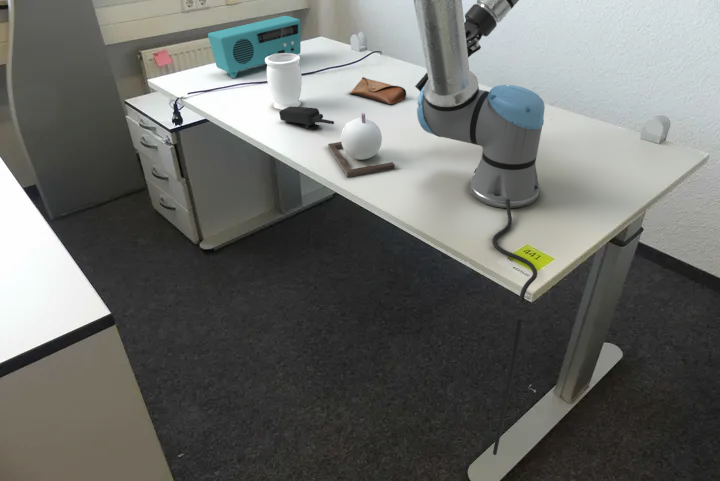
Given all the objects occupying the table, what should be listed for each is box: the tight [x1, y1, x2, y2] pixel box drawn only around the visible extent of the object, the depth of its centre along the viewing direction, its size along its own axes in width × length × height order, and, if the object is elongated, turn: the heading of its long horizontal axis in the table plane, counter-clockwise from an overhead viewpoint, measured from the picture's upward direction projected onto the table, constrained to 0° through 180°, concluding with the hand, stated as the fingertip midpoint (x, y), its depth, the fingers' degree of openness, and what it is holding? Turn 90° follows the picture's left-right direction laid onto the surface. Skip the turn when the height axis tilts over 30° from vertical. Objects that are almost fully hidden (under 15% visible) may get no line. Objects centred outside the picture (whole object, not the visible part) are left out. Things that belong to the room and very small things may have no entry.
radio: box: [207, 15, 302, 79], centre depth 200 cm, size 34×10×15 cm, turn 132°
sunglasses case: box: [348, 76, 407, 105], centre depth 176 cm, size 18×7×7 cm, turn 52°
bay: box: [327, 141, 396, 178], centre depth 141 cm, size 18×12×1 cm
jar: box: [265, 53, 303, 111], centre depth 168 cm, size 11×10×15 cm
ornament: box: [340, 112, 383, 161], centre depth 138 cm, size 10×10×12 cm
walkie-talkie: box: [278, 106, 335, 130], centre depth 156 cm, size 6×6×20 cm
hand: (419, 90), depth 136 cm, fingers closed
